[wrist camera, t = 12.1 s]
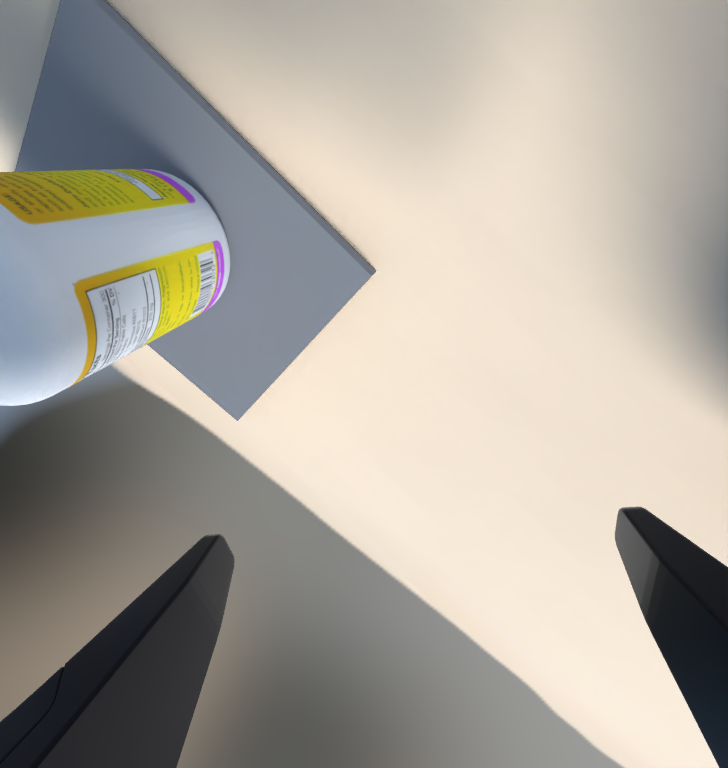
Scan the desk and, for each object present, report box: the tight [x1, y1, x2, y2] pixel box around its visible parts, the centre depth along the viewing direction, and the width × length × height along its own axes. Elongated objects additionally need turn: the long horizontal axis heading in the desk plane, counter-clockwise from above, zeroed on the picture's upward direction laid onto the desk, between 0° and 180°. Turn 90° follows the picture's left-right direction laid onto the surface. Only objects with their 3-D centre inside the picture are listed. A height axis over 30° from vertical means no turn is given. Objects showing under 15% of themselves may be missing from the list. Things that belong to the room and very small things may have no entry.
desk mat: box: [15, 0, 376, 421], centre depth 20 cm, size 16×12×1 cm
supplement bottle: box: [0, 169, 230, 406], centre depth 14 cm, size 7×7×13 cm
